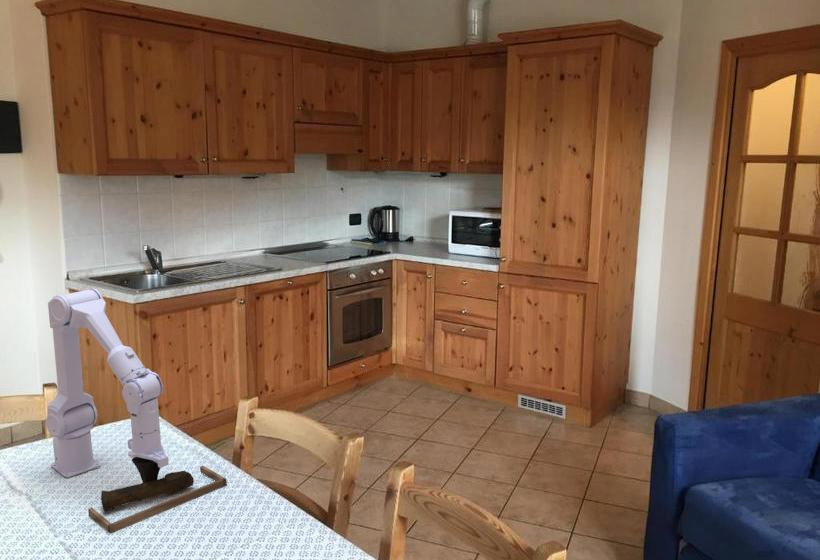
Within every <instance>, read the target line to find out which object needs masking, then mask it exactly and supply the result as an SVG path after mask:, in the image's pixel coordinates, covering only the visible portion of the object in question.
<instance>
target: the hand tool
mask: <svg viewBox="0 0 820 560" xmlns="http://www.w3.org/2000/svg"><path fill="white" fill-rule="evenodd" d="M194 481H195V479H194V477H193V476H192V474H191V473H190V472H189V471H186V470H179V471H175V472H173V471H172V472H169V473H166V474H165V475H164V477H160V478H158V479H157V480H153V481H149V482H145V483H143V482H142V483H137V484H134V485H129V486H124V487H119V488H116V489H111V490H103V489H102V490H101V493H100V494H101V495H100V499H101V505H102V508H103V511H104V512H107V511H108V510H109V509H110V510H114V509H115V508H116V507H119V506H123V505H127V504H131V503H135V502H140V501H142V500H146V499H150V498H155V497H158V496H161V495H167V496H173V495H176V494H179V493H181V492H183V491H185V490H187V489H189V488H190V487H192V486H194V483H195V482H194Z"/></svg>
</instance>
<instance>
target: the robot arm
mask: <svg viewBox="0 0 820 560" xmlns="http://www.w3.org/2000/svg"><path fill="white" fill-rule="evenodd" d="M47 306H48V307H47V309H48V319H49V320H48V321H49V328H50V329H52V336H53V337H52V338H53V348H54V349H53V350H54V359H55V360H54V361H55V373H56V381H57V395H56V396H55V397H54V398H53V399H52V400H51V401H50V403H49V404H48V405H47V415H46V419H45V425H46V428H47V431H48V433H50V436H53V438H52V445H53V455H54V462H53V463H51V464H50V466H51V467H52V468H53V469H54V470H55V471H56V472H57V473H59V474H61V475H62V476H63V477H65V478H66V479H67V478H71V477H74V476H77V475H79V474H83V473H86V472H88V471H89V472H90V471H91V470H95V469H98V468H100V467H101V464H100V463H98V462H97V461H96V460H94V454H93V443H92V436H91V435H92V433H91V430H93V429H94V424H96V423H97V420H98V410H97V407H96V406H95V401H94V396H92V395H91V394H89V393H87V392H85V391H84V381H83V369H82V356H81V354H82V353H81V344H80V331H79V330H80V328H82V329H87V330H88V331H89V332H90V333H91V335H92V336H93V338H95V340H96V341H97V342H98V343H99V345H100V346H101V347H102V348H103V349H104V351H105V352H106V353H107V354H108V355H107V359H106V362H107V365H108V366H109V367H110V369H111V371H112V372H113V374H114V375H115V376H116V378H117V379H118V381H119V382H120V384H121V385H122V386H123V388H122V390H121V395H122V398H123V400H124V401H125V404H126V409H127V412H128V413H129V415H130V427H131V437H132V438H131V439H130V438H129V439H127V448H128V449H129V450H131V451H128V455H127V456H128V457H129V458H131V462H132V464H134V466H135V468H136V469H137V472H138V474H139V476H140V478H141V481H142V483H145V482H149V481H153V480H158V479H159V473H160V471H161V468H163V467H164V468H165V467H166V466H169V464H170V463H169V455H166V453H165V450H164V447H163V445H162V441H161V440H162V438H161V427H160V414H159V413H160V411H159V400H158V398H159V397H160V396H162V394H163V392H164V385H163V382H162V380H161V377H160V376H159V374H157V373H156V372H154V371H151V369H150V368H146V366H145V365H144V364H143V362H142V361H141V360H140V358H139V357H138V355H137V353H136V352H135V351H134V349H133V348H132V347H131V346H127V345H124V344H123V342H122V340H121V339H120V338H119V335H118V334H117V332H116V330H115V328H114V327H113V325H112V323H111V321H110V319H109V318H108V316H107V314H106V312H107V302H106V301H105V300H104V297H103V295H102V293H100V291H99V290H98V289H96V288H93V287H92V288H88V289H86V290H80V291H76V292H75V291H74V292H70V293H65V294H61V295H60V294H59V295H54V296H53V297H52V298H51V299H50V300H49V301H48V303H47Z"/></svg>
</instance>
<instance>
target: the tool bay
mask: <svg viewBox="0 0 820 560" xmlns="http://www.w3.org/2000/svg"><path fill="white" fill-rule="evenodd" d="M199 470H200V472H201V473H200V474H202V473H203V474H202V475H204V474H205V475H207V476H208V477H207V476H206V477H207V478H209V477H210V478H212V479H213V480H212V479H211V480H212V481H213V482H211V483H208V484H205V485H203V486H201V487H198V488H196V489H194V490H190V491H188V492H185V493H183V494H180V495H178V496H175V497H173V498H171V499H169V500H166V501H163V502H161V503H158V504H156V505H153V506H151V507H148V508H146V509H144V510H141V511H139V512H136V513H134V514H131V515H129V516H126V517H124V518H122V519H119V520H116V521H114V522H110V521H109V520H108V519H107V518H106V517H104V515H102V514H101V513H99V512H98V511H97V510H95V508H93V507H89V508H88V516H89V517H90V518H91V519H92V520H93V521H95V522H96V523H97V524H98V525H100V527H101V528H103V529H104V530H105V531H106V532H108V533H109V534H111V533H113V532H117V531H119V530H121V529H125V528H126V527H129V526H131V525H133V524H136V523H138V522H141V521H143V520H146V519H148V518H150V517H153V516H156V515H157V514H160V513H162V512H164V511H167V510H169V509H172V508H175V507H177V506H179V505H182V504H184V503H186V502H189V501H191V500H194V499H196V498H198V497H201V496H203V495H204V496H205V495H206V494H209V493H211V492H213V490H214V491H216V490H218V489H220V487H221V488H223V487H225V485H226V486H228V485H227V483H228V482H227V478H226V477H224V476H222V475H221V474H218V473H217V472H215V471H214V470H212V469H210V468H209V467H206V466H205V465H201V466H199ZM205 475H204V476H205ZM210 478H209V479H210ZM214 480H215V481H214ZM217 488H218V489H217ZM215 489H216V490H215Z"/></svg>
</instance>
